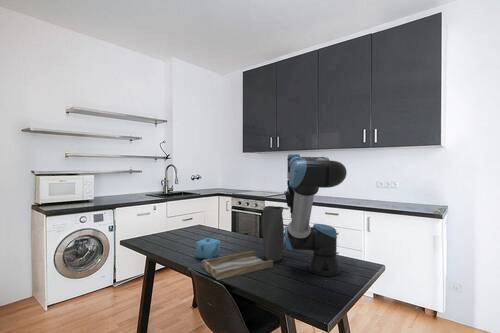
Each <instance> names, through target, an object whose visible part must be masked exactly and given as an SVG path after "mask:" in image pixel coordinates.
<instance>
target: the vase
mask: <svg viewBox="0 0 500 333" xmlns="http://www.w3.org/2000/svg"><path fill="white" fill-rule="evenodd" d="M283 210H284V206H275V205H266V206H264V207H263V210H262V218H261V221H262V222H261V230H262V231H261V234H262V244H263V252H264V253H263V255H264V257H265V259H266V261H269V260H273V263H274V262H280V261H281V260H282V259H283V257H284V254H283V253H284V246H283V239H284V240H285V230H284V228H285V226H284V219H283V218H284V217H283Z"/></svg>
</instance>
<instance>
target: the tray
mask: <svg viewBox="0 0 500 333" xmlns="http://www.w3.org/2000/svg"><path fill="white" fill-rule="evenodd" d="M273 267H274V262H273V260H269V261H267V260H265V261H264V260H263V259H261V258H259V257H257V256H256V251H255V250H252V251H245V252H239V253H235V254H234V253H233V254H230V255H224V256H220V257H219V256H218V257H216V258H213V257H212V258H210V259H203V260H202V259H201V268H202V269H204V270H205V271H206V272H207V273H208V274H209V275H211V276H212V277H213V278H214V279H216V280H217V281H219V280H224V279H228V278H233V277H236V276H240V275H244V274H248V273H253V272H258V271H262V270H267V269H271V268H273Z"/></svg>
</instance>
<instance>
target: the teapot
mask: <svg viewBox="0 0 500 333" xmlns="http://www.w3.org/2000/svg"><path fill="white" fill-rule="evenodd" d="M221 244H222V242H221V240H220V239H214V238H210V237H206V238H204V239H201V240H197V241H196V242H195V257H197V258H198V259H200V260H202V259H203V260H207V259H212V258H217V256H219V255H221V252H220V251H221Z"/></svg>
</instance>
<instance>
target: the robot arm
mask: <svg viewBox="0 0 500 333" xmlns="http://www.w3.org/2000/svg"><path fill="white" fill-rule="evenodd" d="M286 175H287V177H286V178H287V181H286V182H287V184H286V185H287V190H285V191H284V192H283V193H284V195H285V200H286V206H287V208H289V213H290V219H291V221H290V222H289V223H288V225H287V226H284V241H285V247H286V249H287V250H289V251H312V256H311V260H310V263H309V272H311V273H313V274H315V275H318V276H322V277H334V276H339V275H340V274H341V273H340V272H341V266H340V265H339V262H338V257H337V248H338V244H337V240H338V239H337V238H338V234H337V229H336V228H335V227H333V226H331V225H328V224H323V223H314V224H313V226H311V225H310V221H311V214H312V208H313V203H314V199H315V198H314V197H315V195H317V194H318V192H319V189H320V188H324V189H325V188H326V189H327V188H329V189H330V188H333V187H337V186H339V185H340V184H342V183H343V182H344V181H345V179H346V178H347V168H346V166H345V165H344V164H343V163H342V162H340V161H337V160H330V159H329V157H327V156H326V157H325V156H301V155H300V153H299V154H298V153H288V155H287V174H286Z"/></svg>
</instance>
